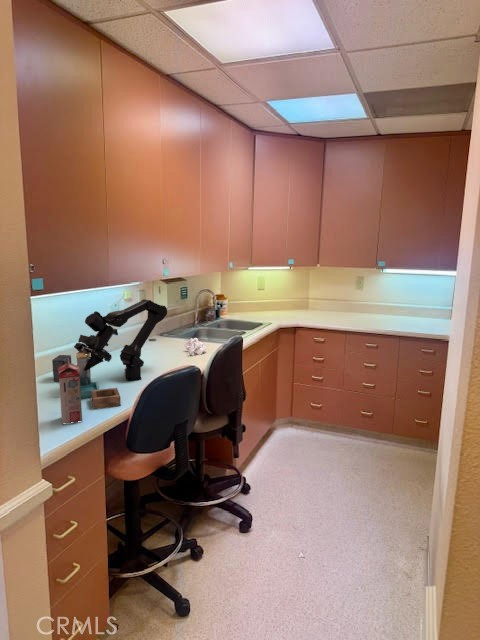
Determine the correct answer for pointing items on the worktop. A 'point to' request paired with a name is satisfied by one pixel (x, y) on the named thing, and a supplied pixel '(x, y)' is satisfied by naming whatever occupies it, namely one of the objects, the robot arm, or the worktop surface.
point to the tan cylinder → (81, 363)
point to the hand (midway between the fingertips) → (80, 369)
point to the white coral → (195, 346)
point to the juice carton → (70, 393)
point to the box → (59, 365)
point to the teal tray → (88, 389)
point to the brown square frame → (105, 398)
